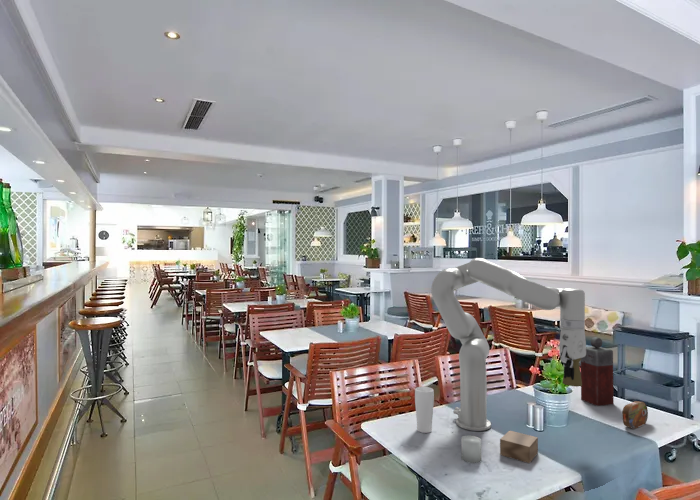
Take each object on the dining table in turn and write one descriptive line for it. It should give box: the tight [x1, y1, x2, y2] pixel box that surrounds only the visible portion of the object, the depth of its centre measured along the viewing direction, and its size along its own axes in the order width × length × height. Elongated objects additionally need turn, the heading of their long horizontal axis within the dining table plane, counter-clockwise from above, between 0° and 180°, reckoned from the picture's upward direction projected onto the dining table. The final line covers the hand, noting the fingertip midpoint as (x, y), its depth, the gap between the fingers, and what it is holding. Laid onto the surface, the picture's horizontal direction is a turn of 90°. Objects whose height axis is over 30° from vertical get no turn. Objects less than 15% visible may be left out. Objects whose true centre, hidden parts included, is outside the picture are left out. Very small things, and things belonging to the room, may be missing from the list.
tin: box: [621, 400, 649, 430], centre depth 162 cm, size 15×3×8 cm, turn 123°
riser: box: [499, 430, 539, 464], centre depth 138 cm, size 9×9×5 cm
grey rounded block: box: [460, 435, 482, 464], centre depth 135 cm, size 6×6×6 cm
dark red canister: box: [580, 336, 615, 407], centre depth 190 cm, size 9×11×28 cm
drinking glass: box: [414, 386, 435, 434], centre depth 157 cm, size 7×7×15 cm
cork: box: [562, 356, 582, 387], centre depth 148 cm, size 6×6×11 cm
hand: (571, 377), depth 148 cm, fingers closed on cork, 3 cm apart
